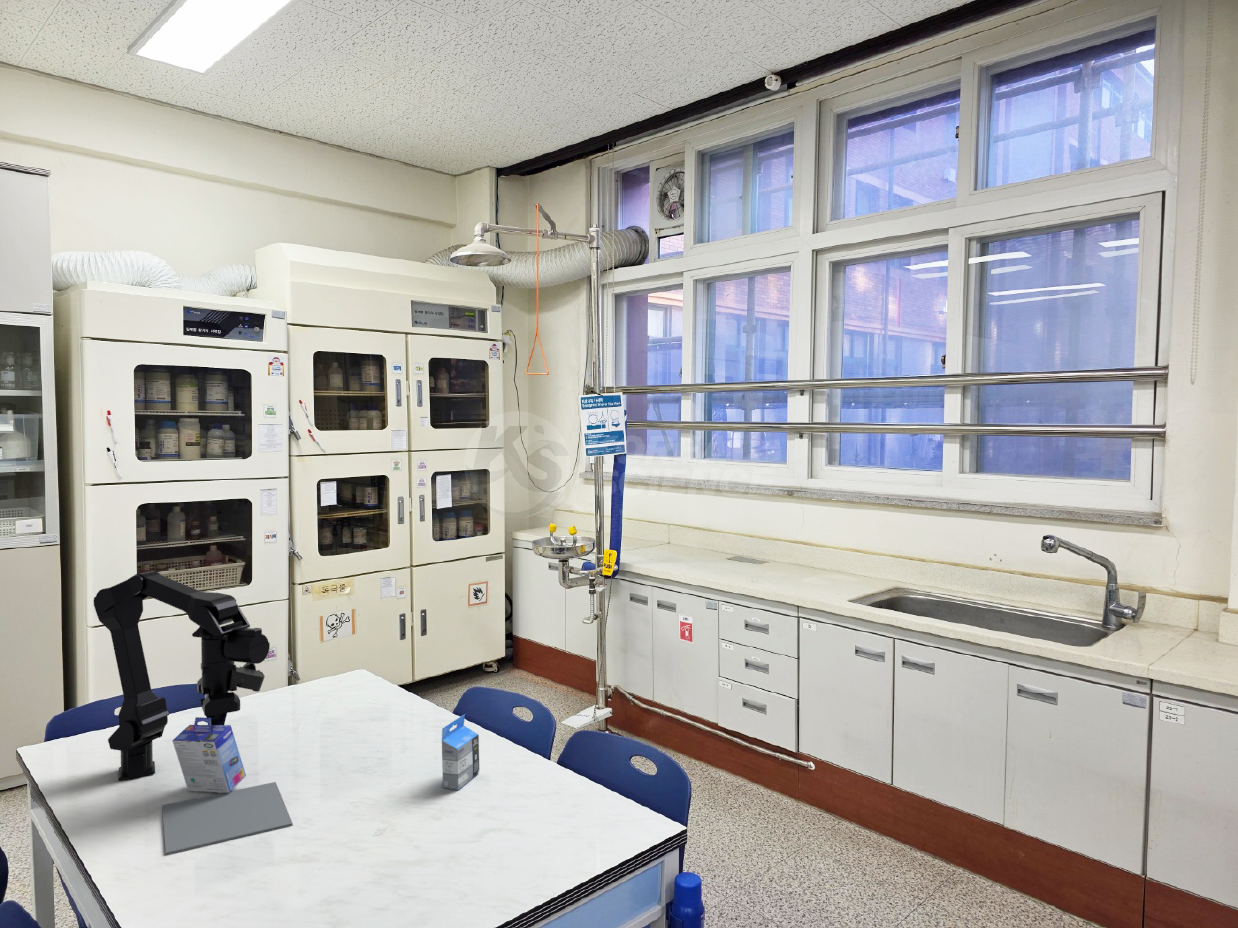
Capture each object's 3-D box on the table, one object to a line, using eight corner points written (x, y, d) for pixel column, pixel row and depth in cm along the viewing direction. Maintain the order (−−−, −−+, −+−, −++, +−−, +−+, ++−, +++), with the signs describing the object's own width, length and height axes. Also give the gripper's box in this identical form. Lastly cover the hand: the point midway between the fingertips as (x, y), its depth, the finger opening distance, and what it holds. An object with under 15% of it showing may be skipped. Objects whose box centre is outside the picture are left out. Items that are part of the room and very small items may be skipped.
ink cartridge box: (248, 774, 160) (229, 714, 155) (231, 793, 154) (210, 732, 150) (205, 772, 162) (185, 713, 157) (187, 791, 156) (166, 731, 152)
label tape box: (458, 790, 158) (458, 730, 158) (440, 787, 159) (441, 727, 159) (480, 773, 166) (480, 715, 166) (463, 770, 168) (463, 713, 167)
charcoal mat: (162, 806, 150) (162, 804, 150) (275, 783, 160) (275, 781, 160) (165, 854, 133) (165, 852, 133) (292, 825, 143) (292, 823, 143)
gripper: (268, 664, 155) (268, 742, 156) (254, 643, 171) (255, 714, 171) (204, 673, 149) (205, 754, 150) (196, 650, 165) (197, 724, 165)
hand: (218, 735), depth 159 cm, fingers closed
